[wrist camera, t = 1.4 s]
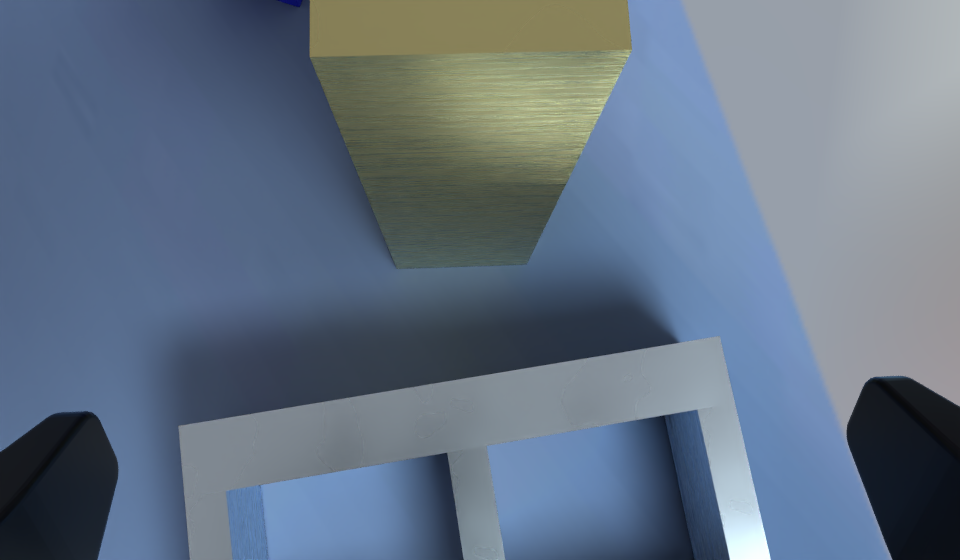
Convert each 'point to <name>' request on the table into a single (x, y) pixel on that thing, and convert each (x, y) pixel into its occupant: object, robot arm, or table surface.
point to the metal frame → (483, 445)
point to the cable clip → (292, 2)
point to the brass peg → (466, 113)
